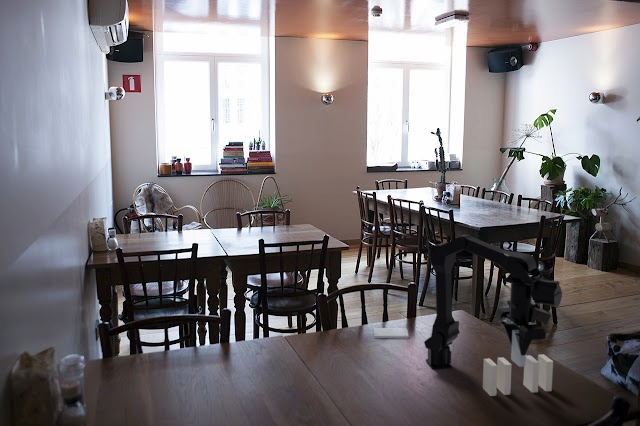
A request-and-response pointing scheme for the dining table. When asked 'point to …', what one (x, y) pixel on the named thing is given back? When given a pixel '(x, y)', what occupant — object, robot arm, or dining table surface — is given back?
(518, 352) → the domino
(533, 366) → the domino
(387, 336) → the hard drive
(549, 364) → the domino
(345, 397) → the dining table surface
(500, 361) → the domino
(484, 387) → the domino
